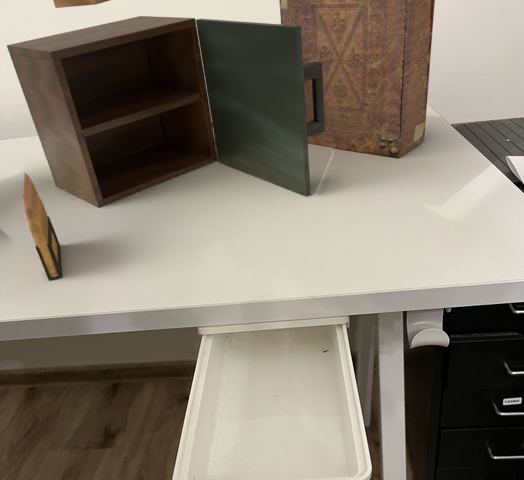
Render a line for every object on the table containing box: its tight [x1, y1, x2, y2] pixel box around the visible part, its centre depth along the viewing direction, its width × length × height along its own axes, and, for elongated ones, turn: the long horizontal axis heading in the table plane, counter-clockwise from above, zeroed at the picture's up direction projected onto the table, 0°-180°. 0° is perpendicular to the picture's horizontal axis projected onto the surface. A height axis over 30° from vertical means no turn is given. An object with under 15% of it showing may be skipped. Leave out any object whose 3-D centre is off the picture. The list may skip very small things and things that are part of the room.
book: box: [278, 0, 436, 159], centre depth 99 cm, size 25×9×30 cm, turn 49°
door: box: [195, 18, 325, 197], centre depth 92 cm, size 7×26×24 cm, turn 37°
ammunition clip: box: [21, 173, 63, 281], centre depth 77 cm, size 11×2×12 cm, turn 18°
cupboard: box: [6, 15, 218, 209], centre depth 100 cm, size 18×26×24 cm
